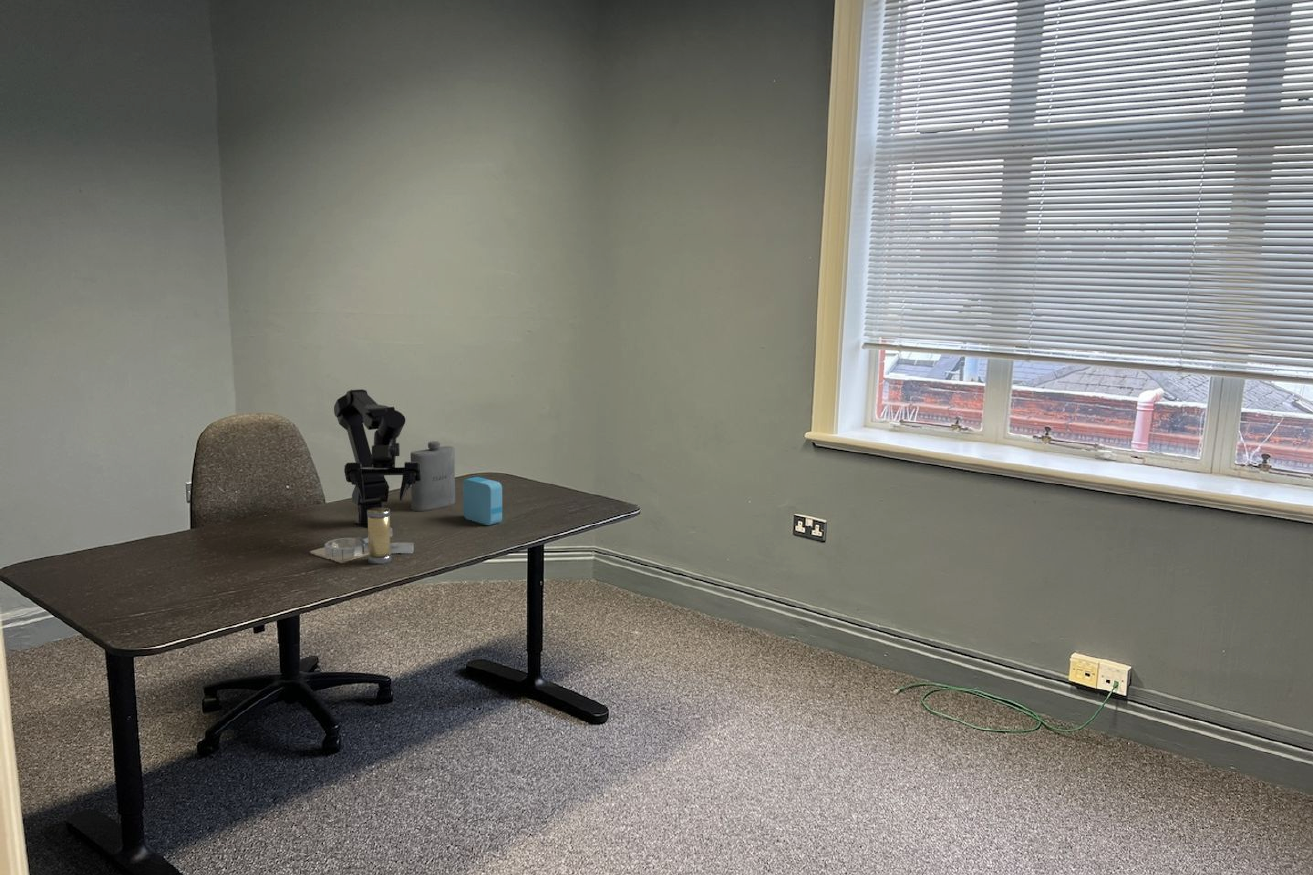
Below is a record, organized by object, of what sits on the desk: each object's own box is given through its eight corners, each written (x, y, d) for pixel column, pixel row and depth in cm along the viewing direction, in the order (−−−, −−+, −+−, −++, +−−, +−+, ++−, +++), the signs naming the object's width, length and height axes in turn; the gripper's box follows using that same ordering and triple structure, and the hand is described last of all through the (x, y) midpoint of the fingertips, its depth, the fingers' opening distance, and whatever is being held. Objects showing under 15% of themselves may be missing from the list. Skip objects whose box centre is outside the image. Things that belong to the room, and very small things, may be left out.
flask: (420, 513, 274) (419, 446, 270) (408, 509, 277) (406, 443, 273) (460, 503, 285) (459, 440, 281) (448, 500, 289) (447, 437, 285)
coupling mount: (310, 553, 234) (309, 544, 234) (382, 533, 253) (382, 524, 252) (361, 569, 223) (360, 559, 223) (432, 547, 242) (432, 538, 242)
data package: (502, 523, 266) (502, 482, 263) (490, 526, 262) (490, 485, 260) (474, 515, 273) (474, 475, 271) (462, 518, 270) (462, 478, 267)
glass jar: (364, 561, 229) (362, 510, 227) (381, 556, 234) (380, 506, 231) (378, 565, 226) (377, 514, 224) (396, 560, 231) (394, 509, 228)
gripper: (344, 431, 235) (339, 484, 227) (419, 431, 239) (418, 483, 230) (348, 455, 244) (344, 507, 236) (421, 454, 248) (420, 505, 240)
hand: (381, 500), depth 235 cm, fingers open, 9 cm apart
